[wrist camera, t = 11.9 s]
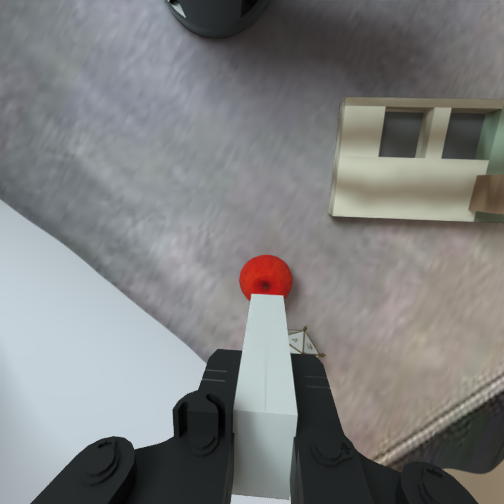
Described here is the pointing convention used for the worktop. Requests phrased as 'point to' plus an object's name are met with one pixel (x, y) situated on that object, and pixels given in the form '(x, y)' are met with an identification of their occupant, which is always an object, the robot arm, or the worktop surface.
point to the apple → (265, 277)
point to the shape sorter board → (415, 157)
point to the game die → (302, 343)
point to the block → (488, 194)
